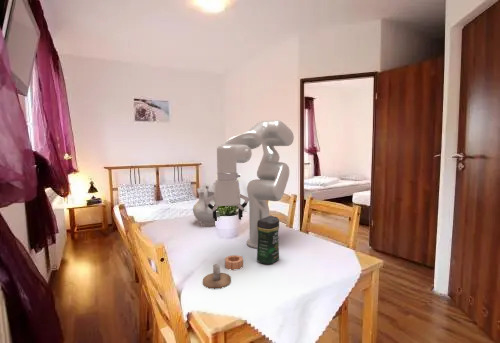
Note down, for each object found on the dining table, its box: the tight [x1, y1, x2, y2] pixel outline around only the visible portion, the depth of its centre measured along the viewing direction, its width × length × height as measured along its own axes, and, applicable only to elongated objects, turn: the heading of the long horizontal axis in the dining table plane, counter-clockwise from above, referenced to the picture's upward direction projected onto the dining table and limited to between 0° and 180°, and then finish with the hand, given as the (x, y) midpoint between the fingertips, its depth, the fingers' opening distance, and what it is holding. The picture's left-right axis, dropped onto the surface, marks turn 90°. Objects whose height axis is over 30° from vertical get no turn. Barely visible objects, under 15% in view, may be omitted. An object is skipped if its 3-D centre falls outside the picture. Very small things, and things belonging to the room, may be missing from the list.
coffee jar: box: [256, 215, 280, 265], centre depth 118 cm, size 10×8×19 cm
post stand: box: [202, 263, 232, 290], centre depth 101 cm, size 10×10×6 cm
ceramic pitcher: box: [192, 182, 216, 227], centre depth 170 cm, size 22×20×25 cm
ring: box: [224, 254, 244, 271], centre depth 114 cm, size 7×7×3 cm
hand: (227, 219), depth 113 cm, fingers open, 9 cm apart
